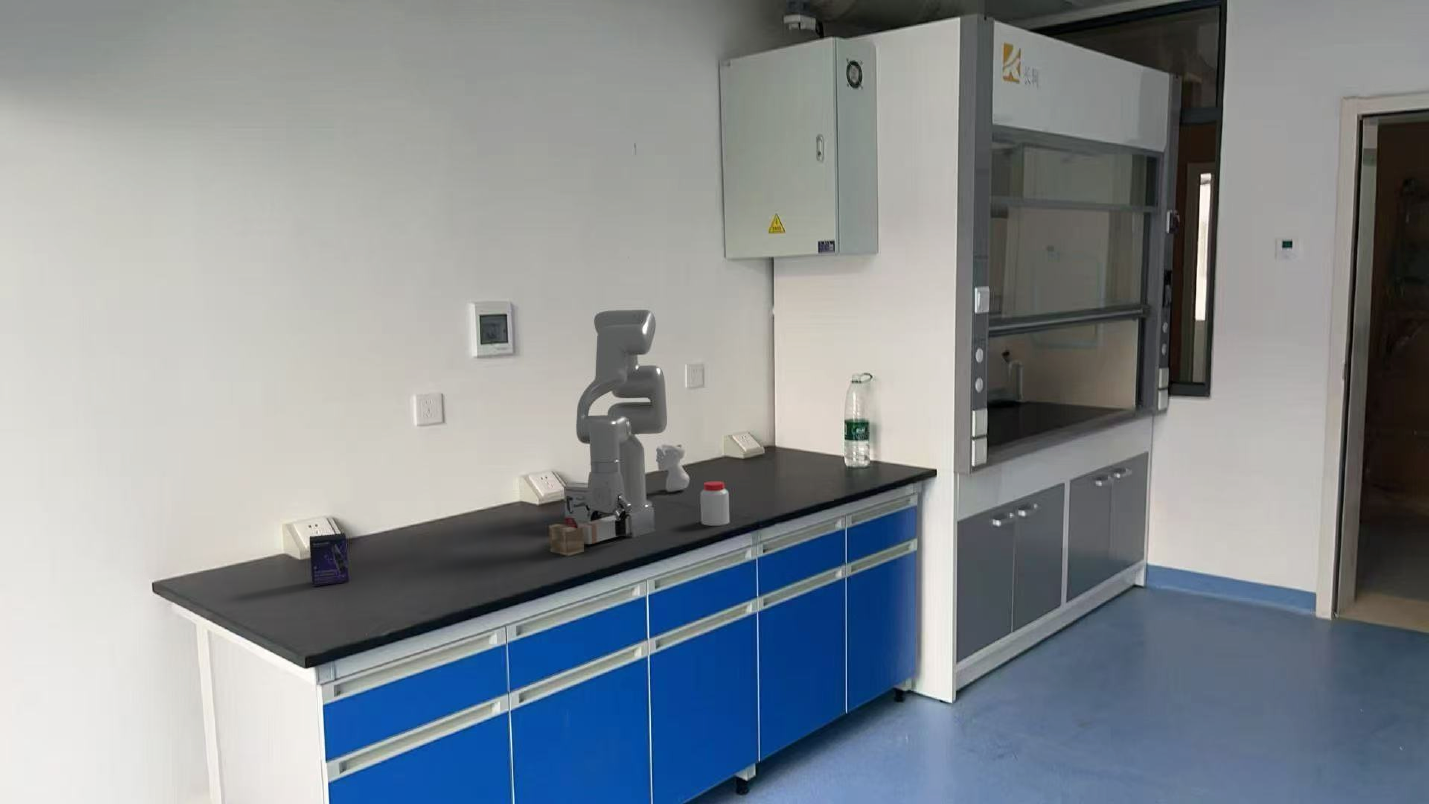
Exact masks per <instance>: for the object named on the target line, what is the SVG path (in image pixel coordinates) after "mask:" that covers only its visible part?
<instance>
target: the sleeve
mask: <svg viewBox="0 0 1429 804" xmlns="http://www.w3.org/2000/svg"><path fill="white" fill-rule="evenodd" d="M629 512H630V513H629V515H630V522H631V533H628V534H624V535H622V536H624V537H628V538H629V537H630V538H636V537H641V536H643V535H646V534H650V533H654V532H655V530H656V529H655V508H654V507H652V506H651V507H648V506H642V505H633V506H631V509H630V511H629ZM618 513H619V514H621V513H620V512H618Z"/></svg>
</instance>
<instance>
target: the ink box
mask: <svg viewBox="0 0 1429 804" xmlns="http://www.w3.org/2000/svg"><path fill="white" fill-rule="evenodd" d="M587 490H588V482H575V481H574V482H570V483H568V484H566V485H564V486H563V495H564V496H563V497H564V498H563V501H564V521H565V523H564V524H566V525H567V526H570V527H575V529H577V528H578V525H579V524H582V523H586V522H590V521H591V520H590V516H589V514H588V513H589V512H588V510H587V508H586V504H585V502H584V497H586V496H587Z"/></svg>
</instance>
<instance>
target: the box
mask: <svg viewBox="0 0 1429 804" xmlns="http://www.w3.org/2000/svg"><path fill="white" fill-rule="evenodd" d="M308 539H309V554H310V556H309V557H310V573H311V574H310V576H311V582H312V583H311V584H312V587H313V588H314V587H317V586H323V585H324V586H327V585H335V584H344V583H349V582H350V579H349V564H348V545H347V535H346V534H345V532H341V533H333V534H332V533H331V534H323V535H320V534H319V535H311V536H310V535H309V537H308Z"/></svg>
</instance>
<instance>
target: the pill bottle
mask: <svg viewBox="0 0 1429 804" xmlns="http://www.w3.org/2000/svg"><path fill="white" fill-rule="evenodd" d="M703 485H704V486H703V487H704V488H703V490H701V492H700V494H699V495H700V513H701V514H700V516H701V517H700V518H701V519H700V521H701V524H702V525H705V526H715V527H716V526H724V525H728V524H729V523H730V501H729V500H730V499H729V497H730V495H729V491H728V490H727V489H726V488H725V482H724V481H719V480H718V481H707V482H704V484H703Z"/></svg>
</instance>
